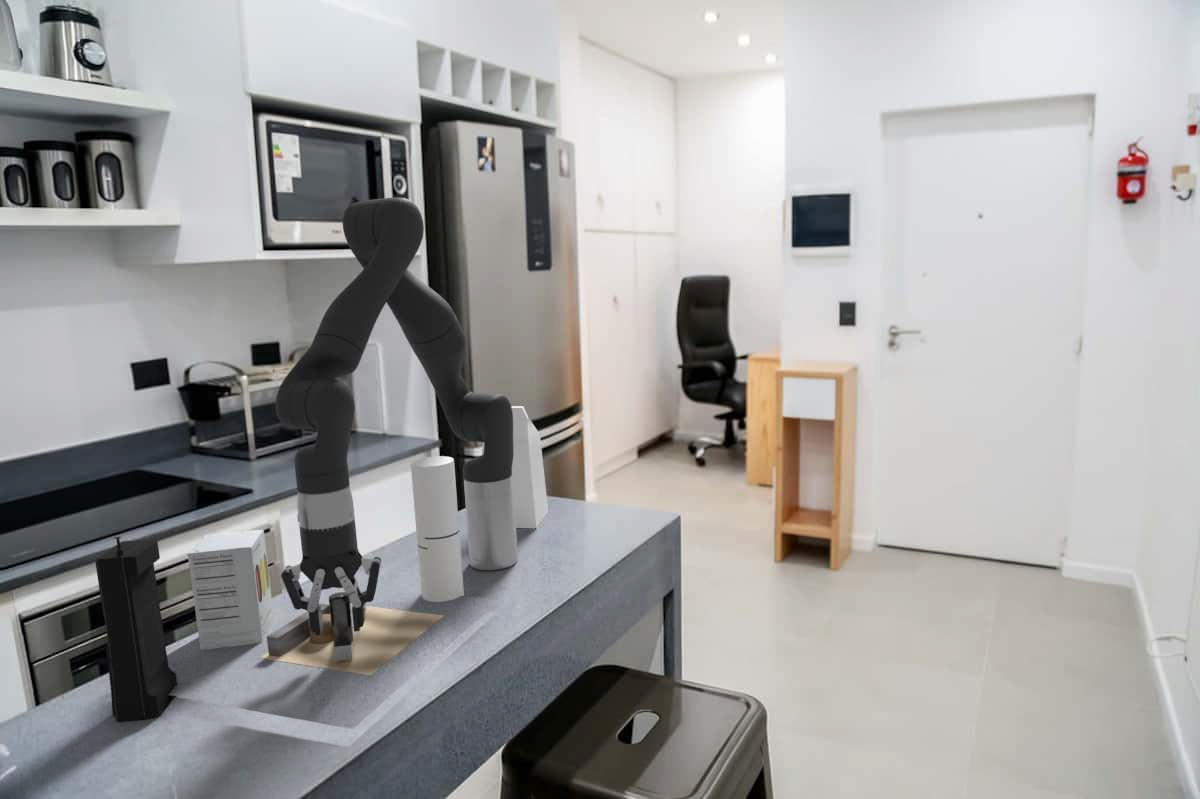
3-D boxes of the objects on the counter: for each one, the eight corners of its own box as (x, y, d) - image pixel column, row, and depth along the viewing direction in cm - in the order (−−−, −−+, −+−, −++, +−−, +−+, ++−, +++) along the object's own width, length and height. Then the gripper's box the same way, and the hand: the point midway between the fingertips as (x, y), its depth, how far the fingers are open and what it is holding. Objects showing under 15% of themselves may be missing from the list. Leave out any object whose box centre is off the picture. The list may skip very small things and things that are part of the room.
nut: (323, 630, 130) (321, 612, 130) (343, 634, 128) (341, 616, 128) (304, 641, 126) (302, 622, 126) (324, 645, 125) (323, 627, 124)
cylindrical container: (455, 611, 139) (444, 466, 135) (415, 609, 140) (403, 466, 136) (470, 594, 146) (460, 456, 142) (432, 592, 147) (421, 456, 143)
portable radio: (138, 692, 116) (112, 522, 112) (182, 688, 117) (158, 519, 113) (110, 723, 109) (82, 541, 104) (158, 719, 109) (131, 538, 105)
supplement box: (264, 651, 127) (251, 547, 124) (200, 659, 125) (185, 553, 123) (276, 625, 136) (264, 527, 134) (216, 632, 135) (203, 533, 132)
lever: (344, 608, 137) (339, 555, 136) (367, 605, 138) (362, 552, 136) (330, 662, 119) (324, 601, 117) (356, 658, 119) (350, 598, 118)
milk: (483, 528, 182) (475, 412, 177) (498, 512, 193) (491, 402, 188) (536, 529, 180) (529, 411, 175) (548, 512, 191) (542, 402, 186)
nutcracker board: (344, 611, 141) (342, 586, 140) (445, 624, 134) (442, 598, 133) (260, 667, 122) (256, 638, 121) (371, 685, 115) (368, 655, 115)
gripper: (381, 506, 122) (391, 615, 124) (279, 515, 119) (292, 625, 122) (376, 521, 114) (386, 637, 117) (267, 531, 112) (281, 648, 115)
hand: (338, 630), depth 120 cm, fingers open, 4 cm apart
